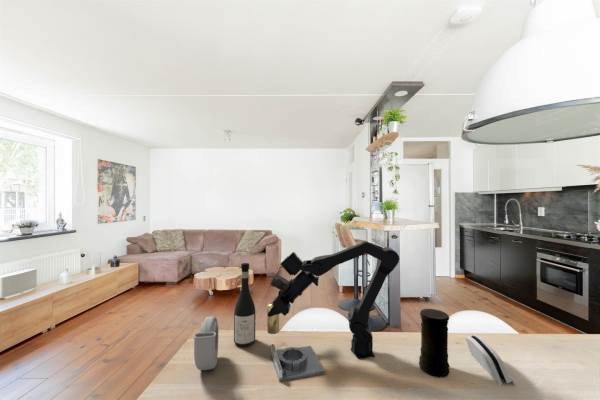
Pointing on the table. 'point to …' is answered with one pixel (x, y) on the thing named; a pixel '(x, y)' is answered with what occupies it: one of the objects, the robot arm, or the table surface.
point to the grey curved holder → (206, 344)
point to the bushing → (272, 321)
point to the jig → (296, 362)
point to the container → (434, 343)
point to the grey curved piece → (488, 359)
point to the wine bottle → (244, 313)
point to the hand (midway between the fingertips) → (269, 313)
